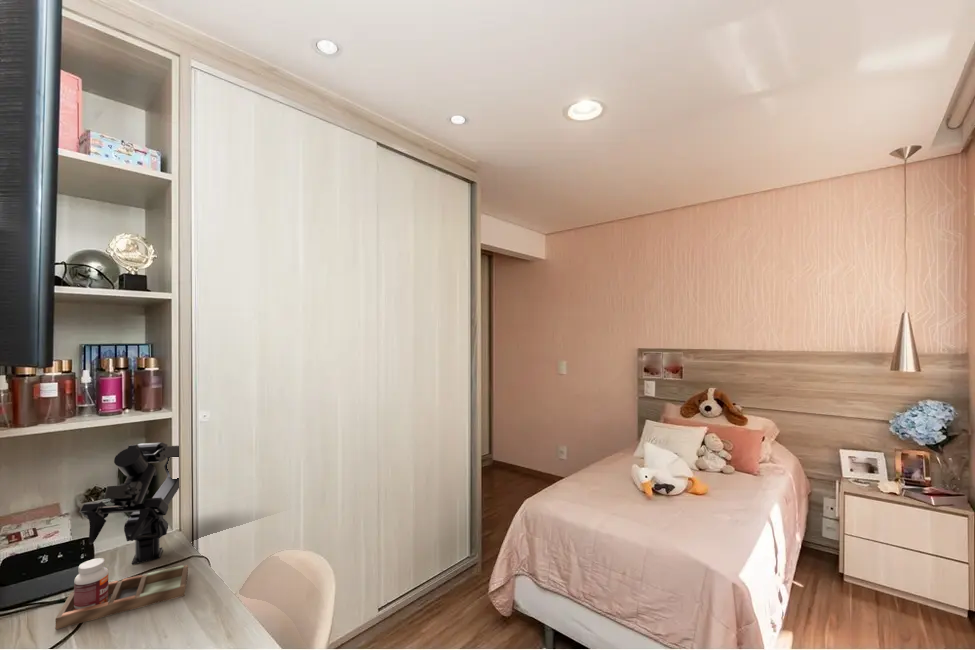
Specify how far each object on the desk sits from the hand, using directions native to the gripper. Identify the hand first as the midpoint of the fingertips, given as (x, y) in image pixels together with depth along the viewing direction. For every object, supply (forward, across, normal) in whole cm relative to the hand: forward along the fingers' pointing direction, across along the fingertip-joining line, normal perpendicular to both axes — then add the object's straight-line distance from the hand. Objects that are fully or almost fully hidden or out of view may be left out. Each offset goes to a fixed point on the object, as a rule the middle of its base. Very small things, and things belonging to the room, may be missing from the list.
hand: (110, 542), depth 112 cm
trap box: (+12, +6, +6) cm, 15 cm away
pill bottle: (+14, 0, +4) cm, 15 cm away
